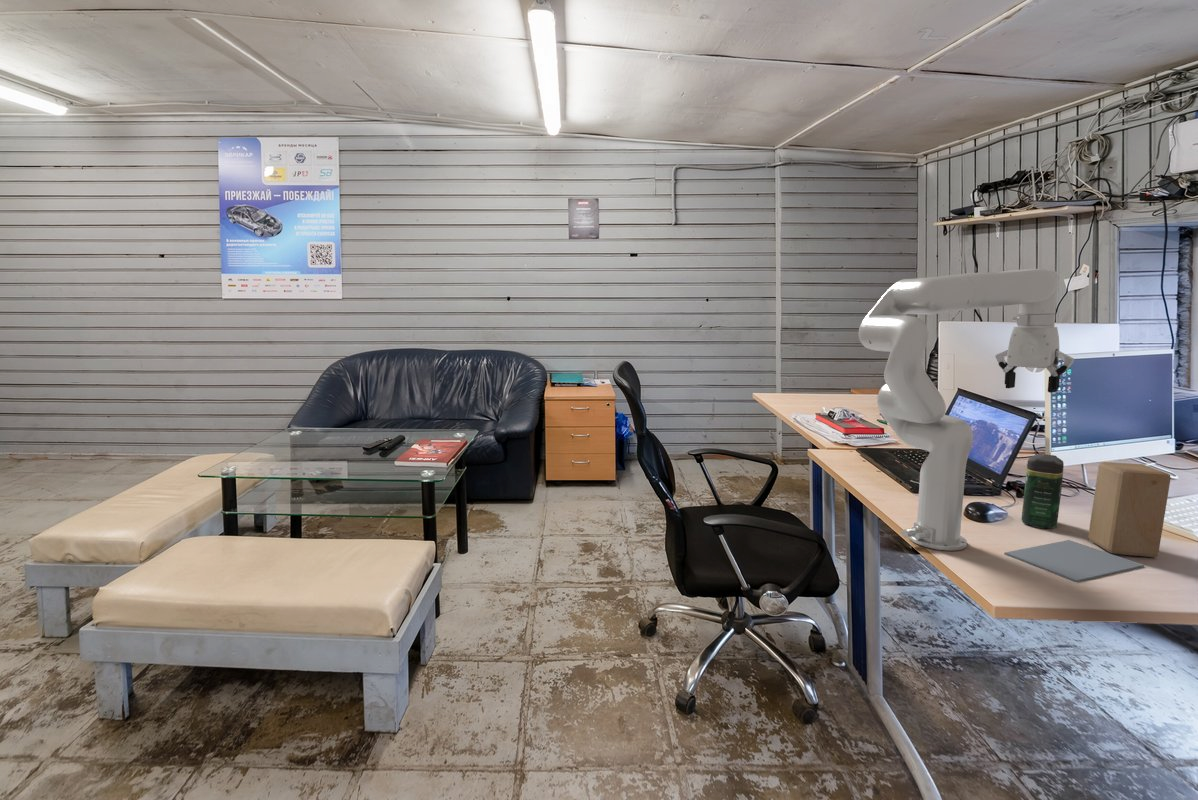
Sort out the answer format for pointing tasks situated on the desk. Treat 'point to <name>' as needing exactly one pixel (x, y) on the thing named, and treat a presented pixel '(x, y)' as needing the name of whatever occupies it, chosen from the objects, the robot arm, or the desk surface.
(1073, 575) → the mat
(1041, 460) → the coffee jar
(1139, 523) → the wooden block
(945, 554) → the desk surface
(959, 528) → the robot arm
